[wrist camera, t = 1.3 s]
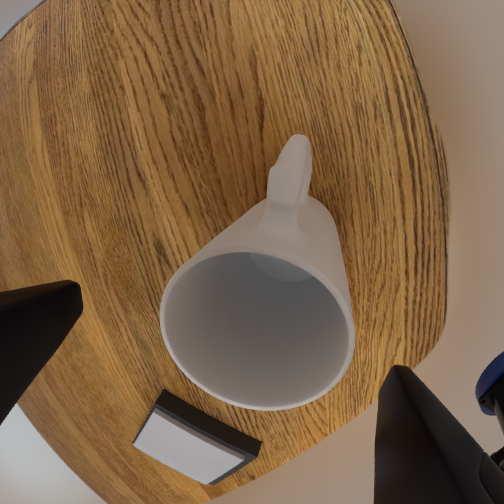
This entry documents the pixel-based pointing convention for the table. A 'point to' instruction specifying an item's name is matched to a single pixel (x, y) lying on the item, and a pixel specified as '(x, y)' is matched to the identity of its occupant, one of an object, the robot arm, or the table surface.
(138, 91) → the table surface
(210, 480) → the scale
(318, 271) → the mug
